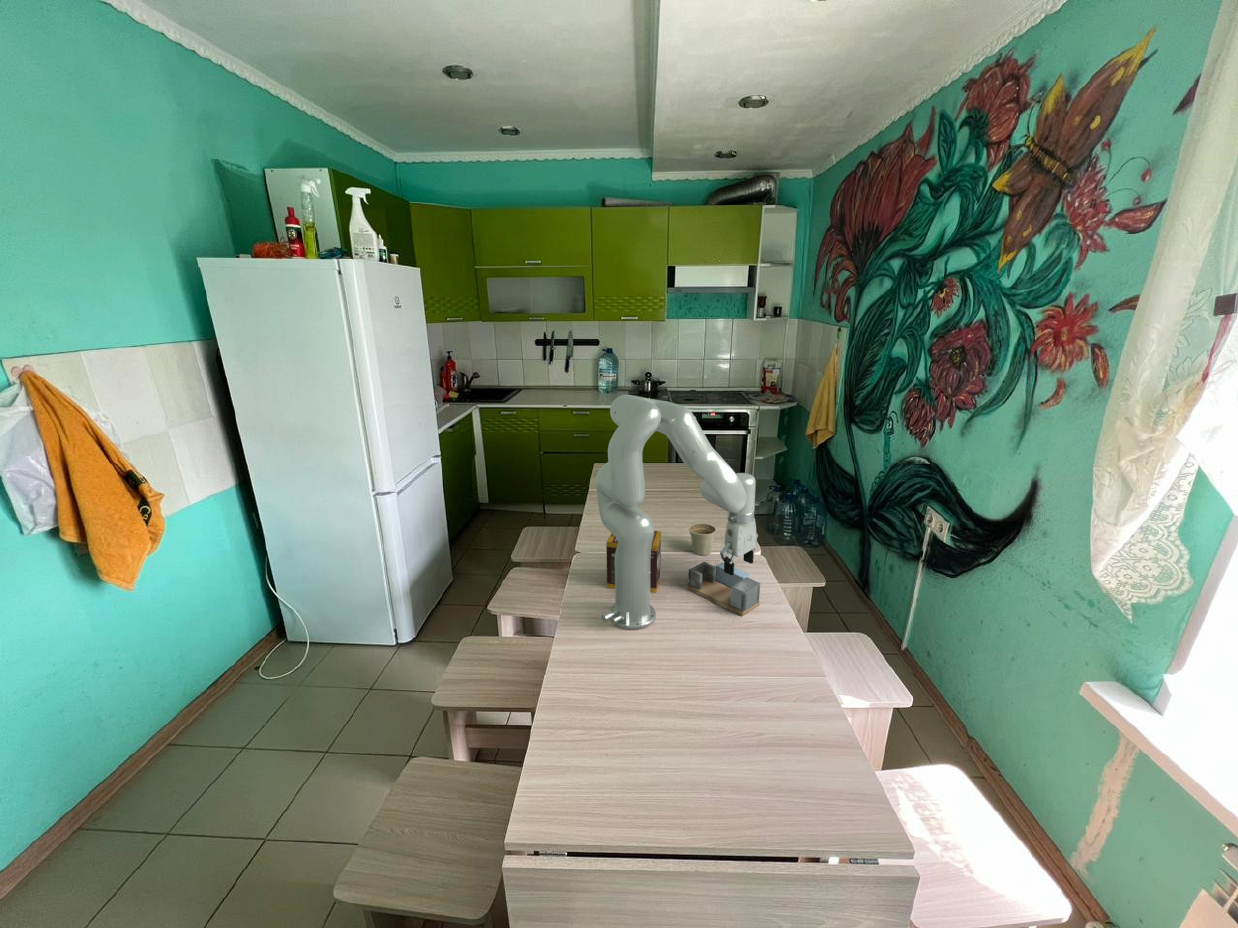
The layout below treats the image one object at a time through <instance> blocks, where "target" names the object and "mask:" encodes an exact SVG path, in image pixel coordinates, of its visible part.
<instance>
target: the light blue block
mask: <svg viewBox="0 0 1238 928" xmlns="http://www.w3.org/2000/svg"><path fill="white" fill-rule="evenodd" d="M715 567H716V570H715V581H716V582H719V583H721V584H723V585H725V586H727V587H729V588H731V586H733V585H734V584H736V583H738V582H739V581H741V580H743V579H744V578H746V577H747V578H750V573H749V572H745V570H744V571H743V570H742V569H739V568H737V567H735V566H734V575H729V574H727V573H725V572H724V561H723V562H720V563H718V564H717V565H715Z"/></svg>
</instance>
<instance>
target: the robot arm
mask: <svg viewBox="0 0 1238 928" xmlns="http://www.w3.org/2000/svg"><path fill="white" fill-rule="evenodd" d="M609 414H610V415H609V416H610V418H611V419H612V422H614V423H615V425H617V426H618V427H617V428H616V430H615V431H614V432H613V434H612V436H611V438H610V440H609V442H608V448H607V458H608V459H607V462H606V463H604V464H603V465H602V466H601V467H600V468H599V470H598V472H597V474H596V477H595V478H596V479H595V488H596V496H597V505H598V511H599V516H600V520H601V523H602V524H603V526H604V527H605V529H607V531H609V532H610V534H611V533H612V534H613V535H614V536H616V537H617V539H618V546H617V549H616V552H615V589H614V594H615V596H614V597H615V599H614V600H615V601H614V603H613V604H612V607H611V609H610V611H609V612H606V613H604V614H602V615H601V619H602V622H605V623H606V622H608V621H610V620H611V622H612V623H613V624H614V625H616V627H619V628H622V629H625V630H639V629H644V628H647V627H649V626H651V625H652V624H653V623H654V622H655V620H656V617H657V616H656V615H657V613H656V610H655V608H654V607H653V606H652V605H651V592H650V558H651V546H652V541H653V536H654V531H655V526H654V523H653V521H652V519H651V517H650V516H649V515H648V514H647V513H646V512H644V511H643V510H642V509H641V508H639V507H638V506H639V505H641V503H643V501H644V498H645V496H646V485H645V484H646V483H645V481H646V480H645V474H644V463H643V450H644V447H645V444H646V443H647V441H648V440H649V439H650V438H651V437H652V435H653V434H654V433H656V432H659V433H661V434H662V435H663V434H664V435H665V436H666V437H667V439H668V440H669V441H670V443H671V445H672V446H673V448H674V449H675V451H676V453H677V454H678V456H679V457H680V459H681V460H682V462H683V464H684V465H685V466H686V467H687V468H688V469H689V470H690V471H692V473H693V474H696V475H697V476H698V477H700V478H701V479H703V481H702V483H701V484H700V488H699V492H700V494H701V496H702V498H703V499H704V500H705V501H707V502H709V503H711V504H712V505H715V506H716V507H719V508H720V509H722V510H724V511H726V512H727V517H726V518H727V522H726V527H725V533H724V535H725V536H724V546H723V547H722V549H721V550H720V552H719V555H720V558H721V560H722V561H723V563H724V572H725V573H727V574H729V575H734V567H735V563H734V560H735V559H736V558H740V557H742V556H743V562H746V563H749V564H754V556H755V555H754V552H755V550H756V546H757V544H758V543H757V540H758V537H759V533H757V524H756V519H755V505H756V483H757V481H756V478H755V476H754V475H752V474H751V473H747V472H737V473H736V472H735V471H734V469H733V468H732V467H731V466H730V465H729V464H728V463H727V462H726V461H725V460H724V458H723V457H722V456H721V455H720V454H719V453H718V452H717V451H716V450H715V449H714V447H713V446H712V445H711V443H710V442H709V440H708V438H707V436H706V434H705V433H704V431H703V429H702V427H701V426H700V424H699V422H698V420H697V418H696V416H695V415H694V413H693V412H692V411H691V410H690V409H689V408H687V407H686V406H684V405H680V404H678V403H677V404H676V403H674V402H671V401H667V400H661V399H653V398H647V397H643V396H638V395H631V394H622V395H620V396H618V397H617V398H615V399H614V400H613V401H612V402H611V405H610V409H609ZM730 555H731V557H729V556H730Z"/></svg>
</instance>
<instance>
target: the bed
mask: <svg viewBox="0 0 1238 928" xmlns="http://www.w3.org/2000/svg"><path fill="white" fill-rule="evenodd" d="M687 576H688V579H687V584H686V588H687V590H689V591H691V592H693V593H695V594H697V595H699V596H701V597H704V598H705V599H707V600H709V601H711V602H713V603H715V604H717V605H719V606H721V607H723V608H725V609H727V610H729V611H730V612H733V613H735V614H737V615H738V616H741V617H744V616H745V615H748V614H749V613H750V612H752V611H753V610H755V609H757V607H759V606H760V601H759V602H757V603H756V604H754V605H752V606H751V607H749V608H748V609H746V610H745V611H742V610H740V609H738V608H736V607H734V606H732V605H730V600H731V587H730V586H728V585H726V584H724V583H721V582H719V581H717V580H715V576H716V565H715V566H714V565H712V564H711V563H708V562H706V561H702V562H701V563H699V564H695V566H693V567H691V568H689V569H688V574H687Z"/></svg>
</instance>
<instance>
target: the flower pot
mask: <svg viewBox="0 0 1238 928" xmlns="http://www.w3.org/2000/svg"><path fill="white" fill-rule="evenodd" d="M688 531H689V535H690V536H691V537H690V538H691V545H692V552H693V553H694V554H695V555H698V556H708V555H710V554H711V553H712V547H713V542H714V537H715V535H716V532H717V528H716V526H714V525H713V524H710V523H702V522H700V523H699V522H697V523H694V524H691V525H689V526H688Z"/></svg>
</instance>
